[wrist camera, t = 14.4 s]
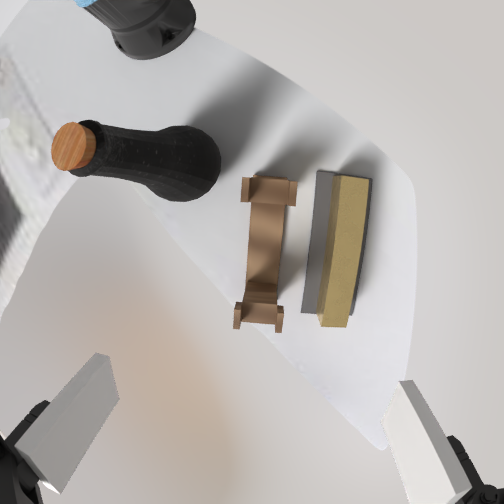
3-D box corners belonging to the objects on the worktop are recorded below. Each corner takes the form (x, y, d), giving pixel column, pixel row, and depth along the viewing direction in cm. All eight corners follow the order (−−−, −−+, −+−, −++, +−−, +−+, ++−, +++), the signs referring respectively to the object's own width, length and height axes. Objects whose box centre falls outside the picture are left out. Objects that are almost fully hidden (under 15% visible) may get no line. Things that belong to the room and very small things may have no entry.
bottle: (150, 180, 43) (3, 189, 14) (182, 122, 41) (60, 51, 12) (205, 211, 44) (96, 265, 15) (239, 152, 42) (178, 94, 13)
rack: (249, 174, 42) (242, 172, 31) (290, 178, 42) (298, 176, 31) (241, 298, 47) (233, 332, 36) (278, 302, 47) (280, 336, 36)
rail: (332, 176, 41) (341, 175, 36) (357, 179, 41) (369, 179, 36) (316, 311, 47) (321, 326, 41) (338, 312, 46) (346, 327, 41)
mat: (316, 171, 42) (317, 171, 41) (371, 178, 41) (372, 178, 41) (300, 311, 47) (301, 312, 47) (351, 314, 47) (352, 315, 46)
